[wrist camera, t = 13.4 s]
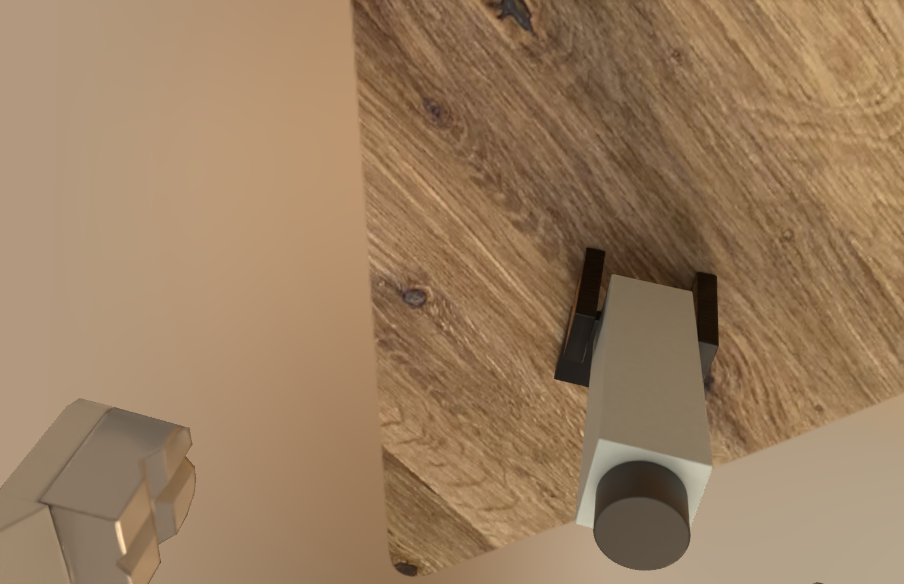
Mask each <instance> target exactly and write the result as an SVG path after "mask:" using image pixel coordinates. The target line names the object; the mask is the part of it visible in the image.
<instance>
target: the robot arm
mask: <svg viewBox="0 0 904 584" xmlns="http://www.w3.org/2000/svg"><path fill="white" fill-rule="evenodd" d="M191 446H192V440H191V434H190V429H189V428H188V427H184V426H181V425H177V424H173V423H170V422H166V421H163V420H159V419H155V418H152V417H148V416H144V415H141V414H137V413H133V412H129V411H126V410H123V409H119V408H116V407H112V406H108V405H104V404H100V403H96V402H92V401H88V400H84V399H80V398H79V399H78V400H76V401H74V402H73V403H71V404H70V405H68V406H67V407H66V408H65V409H64V410H63V412H62V413H61V414H60V415H59V416H58V418H57V419H56V420H55V421H54V423H53V424H52V425H51V427H50V428H49V429H48V430H47V431H46V433H45V434H44V435H43V436H42V437H41V439H40V440H39V441H38V442H37V444H36V445H35V446H34V447H33V449H32V450H31V451H30V452H29V454H28V455H27V456H26V457H25V458H24V460H23V461H22V462H21V464H20V465H19V466H18V467H17V468H16V470H15V471H14V472H13V473H12V474H11V476H10V477H9V478H8V479H7V481H6V482H5V483H4V484H3V485H2V487H1V488H0V584H149V582H150V581H151V579H152V577H153V575H154V574H155V572H156V570H157V568H158V567H159V565H160V563H161V560H160V553H159V547H158V545H159V544H161V543H162V542H164V541H166V540H167V539H169V538H171V537H173V536H174V535H176V534H177V533H178V531H179V529H180V528H181V526H182V524H183V522H184V520H185V518H186V516H187V514H188V511H189V508H190V505H191V502H192V499H193V496H194V492H195V483H196V474H195V466H194V465H193V464H192V463H191V462H190V461H189V459H188V458H187V457H186V454H187V452H188V450H189V449H190V447H191ZM814 584H822V583H818V582H817V583H814Z"/></svg>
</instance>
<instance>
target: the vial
mask: <svg viewBox="0 0 904 584" xmlns="http://www.w3.org/2000/svg"><path fill="white" fill-rule="evenodd" d="M712 468H713V463H712V454H711V446H710V437H709V429H708V421H707V412H706V404H705V395H704V387H703V378H702V370H701V361H700V353H699V344H698V336H697V327H696V319H695V310H694V302H693V294H692V292H691V291H687V290H682V289H678V288H673V287H669V286H664V285H660V284H655V283H651V282H646V281H642V280H637V279H633V278H628V277H624V276H619V275H615V274H612V275H611V278H610V282H609V286H608V290H607V294H606V297H605V301H604V305H603V309H602V312H601V316H600V320H599V324H598V328H597V331H596V335H595V339H594V345H593V354H592V363H591V373H590V382H589V392H588V401H587V411H586V420H585V430H584V439H583V449H582V458H581V467H580V477H579V486H578V496H577V505H576V515H575V524H577V525H581V526H585V527H589V528H593V533H594V538H595V541H596V543H597V545H598V547H599V548H600V550H601V551H602V552H603V553H604V554H605V555H606V556H607V557H608V558H609V559H611V560H612V561H613V562H615V563H617V564H619V565H621V566H624V567H627V568H630V569H635V570H656V569H661V568H664V567H667V566H669V565H671V564H673V563H674V562H676V561H677V560H678V559H680V558H681V557H682V556H683V554H684V553H685V551H686V550H687V548H688V546H689V542H690V528H691V525H692V522H693V520H694V517H695V514H696V512H697V509H698V506H699V503H700V501H701V498H702V495H703V493H704V490H705V487H706V485H707V482H708V479H709V476H710V474H711V471H712Z"/></svg>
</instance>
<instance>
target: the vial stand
mask: <svg viewBox="0 0 904 584" xmlns="http://www.w3.org/2000/svg"><path fill="white" fill-rule="evenodd" d="M604 258H605V251H600V250H595V249H591V248H586V252H585V256H584V260H583V264H582V268H581V272H580V276H579V280H578V284H577V288H576V292H575V297H574V302H573V306H572V307H571V311H570V315H569V319H568V323H567V327H566V331H565V335H564V339H563V343H562V347H561V351H560V355H559V358H558V362H557V366H556V370H555V375H554V379H556V380H560V381H565V382H569V383H573V384H577V385H582V386H586V387H589V382H590V373H591V363H592V354H593V345H594V339H595V335H596V331H597V328H598V324H599V320H600V316H601V312H597V305H598V298H599V292H600V285H601V278H602V271H603V265H604ZM691 292H692V294H693V302H694V310H695V319H696V327H697V336H698V344H699V353H700V361H701V370H702V378H703V383H704V381H705V378H706V376H707V373H708V371H709V369H710V366H711V364H712V361H713V359H714V356H715V354H716V351H717V349H718V347H719V335H718V302H717V276H714V275H709V274H705V273H700V272H698V273H697V276H696V278H695V281H694V284H693V287H692V289H691Z"/></svg>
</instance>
